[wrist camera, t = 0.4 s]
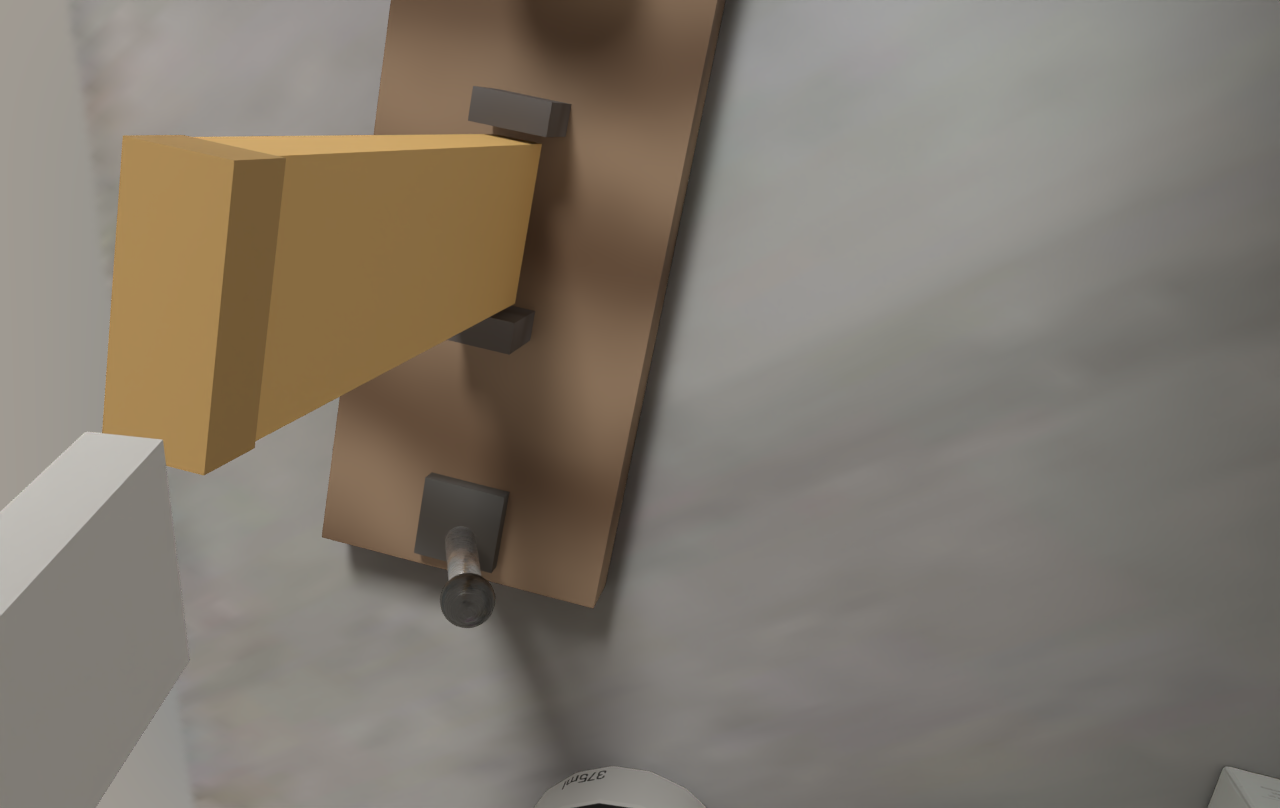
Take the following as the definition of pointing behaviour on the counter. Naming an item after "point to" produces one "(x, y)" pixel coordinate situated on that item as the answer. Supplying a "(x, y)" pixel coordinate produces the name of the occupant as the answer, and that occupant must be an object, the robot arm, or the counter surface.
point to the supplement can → (617, 791)
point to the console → (534, 286)
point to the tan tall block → (297, 273)
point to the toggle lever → (465, 582)
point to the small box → (1245, 790)
